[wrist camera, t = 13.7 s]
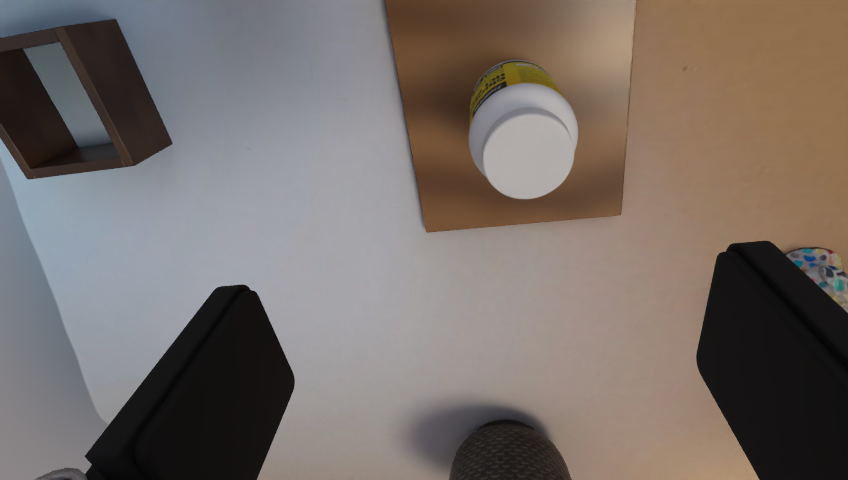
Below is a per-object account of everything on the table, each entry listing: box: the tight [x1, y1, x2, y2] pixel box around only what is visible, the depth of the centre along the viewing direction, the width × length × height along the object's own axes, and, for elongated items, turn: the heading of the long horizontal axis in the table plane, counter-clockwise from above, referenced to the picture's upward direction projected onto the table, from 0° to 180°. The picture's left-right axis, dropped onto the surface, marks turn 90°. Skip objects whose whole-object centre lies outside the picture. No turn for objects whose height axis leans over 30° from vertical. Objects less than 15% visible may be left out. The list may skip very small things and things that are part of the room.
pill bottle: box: [469, 60, 578, 199], centre depth 28 cm, size 6×6×11 cm
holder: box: [0, 19, 172, 179], centre depth 34 cm, size 10×10×5 cm
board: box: [385, 0, 637, 232], centre depth 33 cm, size 20×16×1 cm
